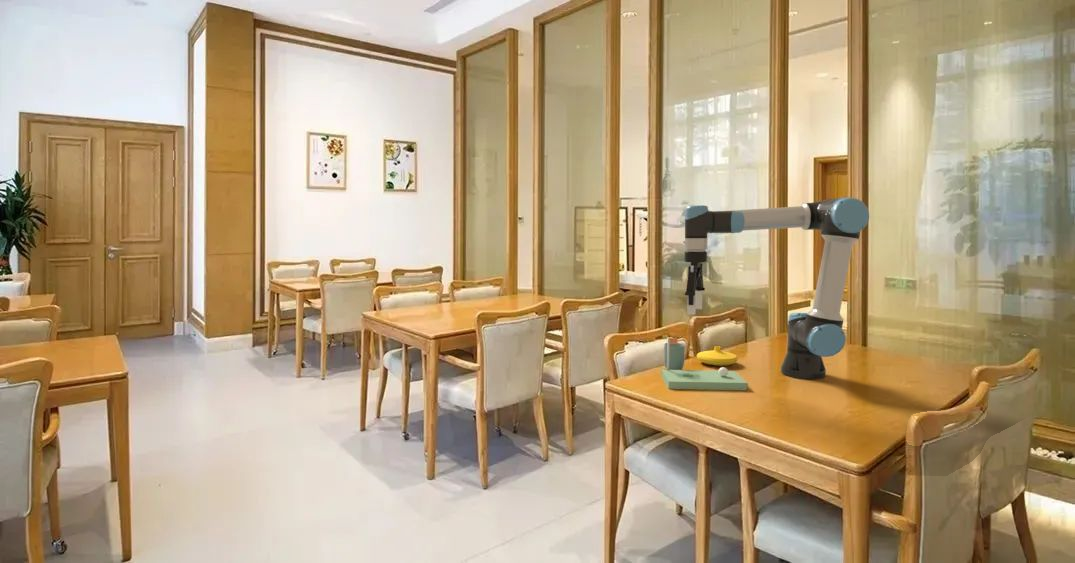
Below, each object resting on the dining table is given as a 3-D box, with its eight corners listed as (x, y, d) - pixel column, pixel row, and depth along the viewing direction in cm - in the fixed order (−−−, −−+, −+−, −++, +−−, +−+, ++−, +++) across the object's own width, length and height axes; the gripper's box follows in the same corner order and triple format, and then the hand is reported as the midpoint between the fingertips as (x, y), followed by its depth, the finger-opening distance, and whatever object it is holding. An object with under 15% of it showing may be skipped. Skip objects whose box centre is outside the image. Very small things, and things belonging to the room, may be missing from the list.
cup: (684, 373, 223) (685, 347, 221) (663, 372, 224) (664, 346, 223) (684, 368, 230) (684, 342, 229) (663, 367, 232) (664, 342, 231)
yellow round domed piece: (743, 369, 230) (744, 351, 229) (702, 368, 230) (702, 350, 230) (730, 359, 246) (731, 342, 245) (692, 359, 246) (692, 342, 245)
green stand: (734, 377, 217) (735, 338, 216) (746, 390, 201) (748, 347, 200) (661, 376, 218) (662, 337, 217) (668, 388, 203) (669, 346, 201)
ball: (726, 375, 211) (726, 366, 210) (728, 377, 208) (729, 368, 207) (717, 375, 211) (717, 366, 211) (719, 377, 208) (719, 368, 207)
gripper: (691, 248, 219) (690, 306, 222) (677, 252, 197) (676, 316, 199) (712, 248, 216) (711, 307, 218) (700, 252, 194) (699, 317, 196)
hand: (694, 311), depth 209 cm, fingers open, 13 cm apart
